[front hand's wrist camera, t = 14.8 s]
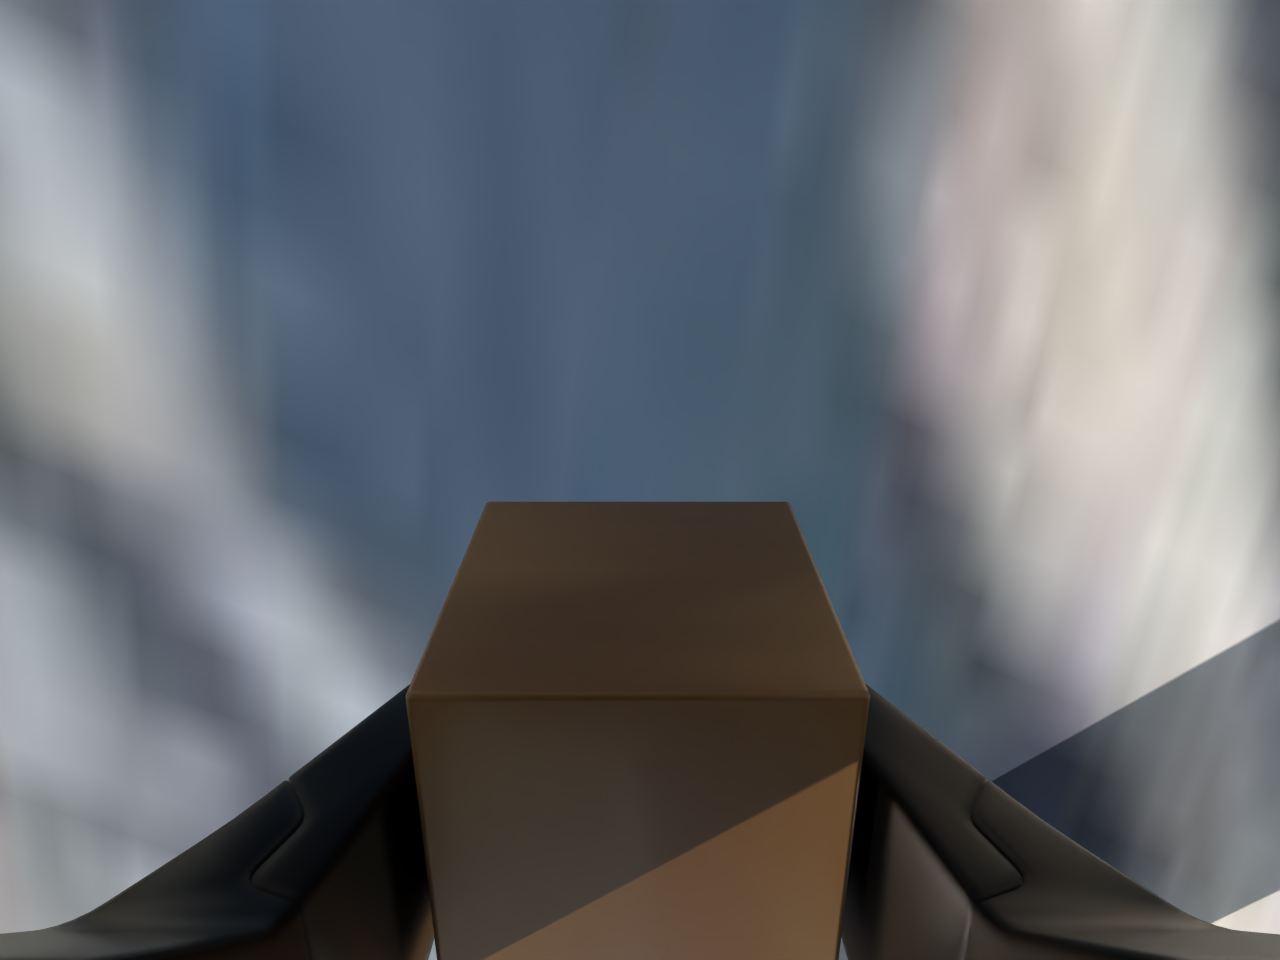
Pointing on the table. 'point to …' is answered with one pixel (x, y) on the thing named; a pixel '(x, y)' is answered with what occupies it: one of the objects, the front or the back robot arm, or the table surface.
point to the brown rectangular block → (637, 738)
